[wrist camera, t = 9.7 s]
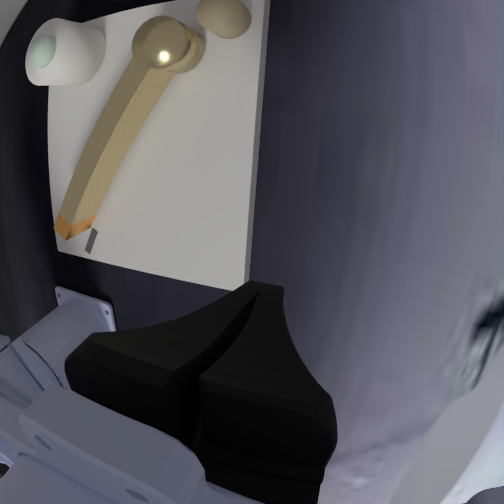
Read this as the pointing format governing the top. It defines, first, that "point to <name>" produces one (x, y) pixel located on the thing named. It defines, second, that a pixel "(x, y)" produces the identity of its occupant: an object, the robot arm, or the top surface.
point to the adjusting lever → (127, 115)
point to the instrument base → (163, 140)
